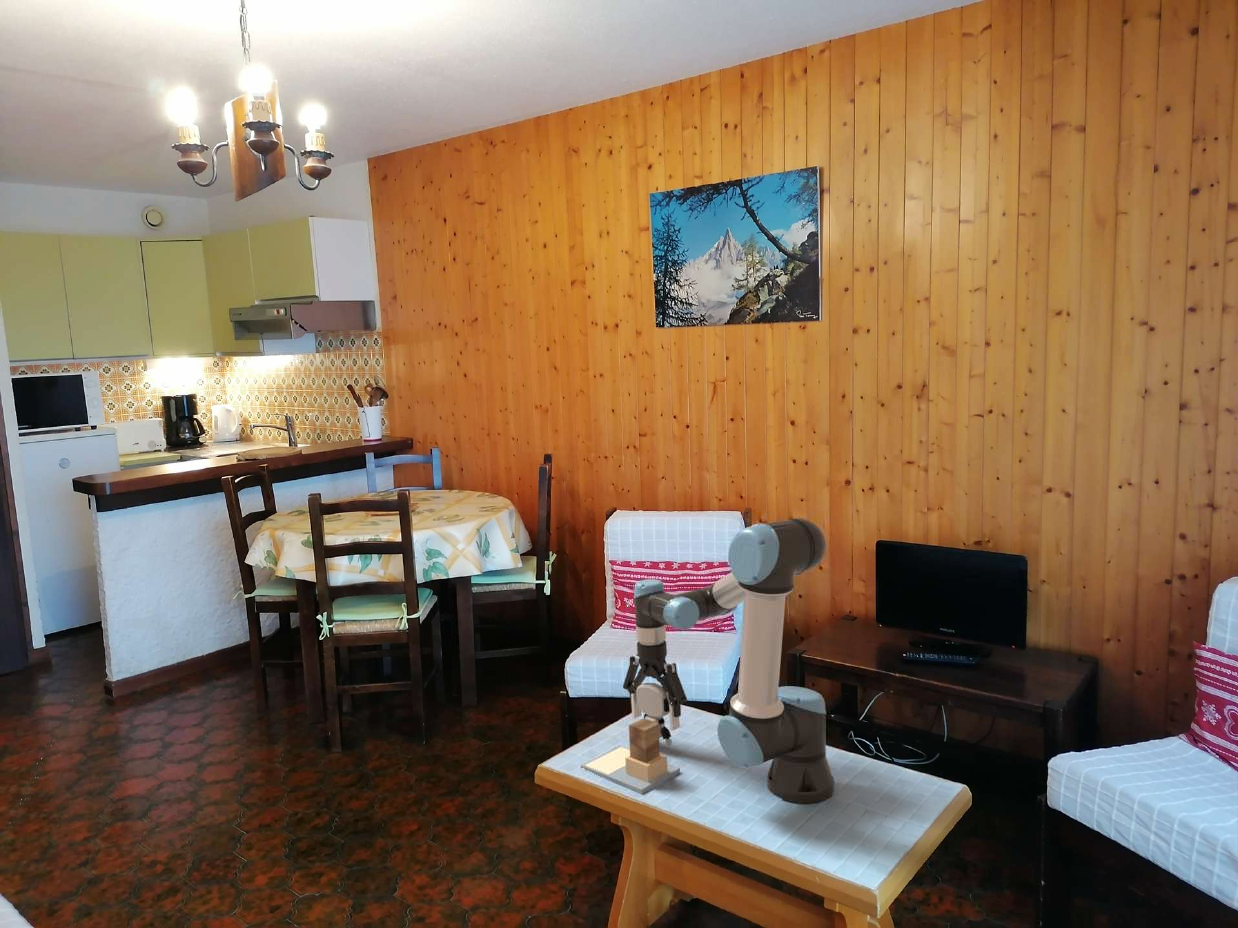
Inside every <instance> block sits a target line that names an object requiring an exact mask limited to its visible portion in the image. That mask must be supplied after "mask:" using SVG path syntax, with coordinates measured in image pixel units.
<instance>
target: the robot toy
mask: <svg viewBox="0 0 1238 928" xmlns="http://www.w3.org/2000/svg"><path fill="white" fill-rule="evenodd" d="M633 685H634V683H633ZM634 690H635V693H636V694H635V695H636V702H637V706H638V707H639V709H640V710H641V713H644V715H643V719H646V720H649V721H652V722H655V723H658V724H659V739H661V738H662V740H665V744H666V745H667V746H669V745H672V744H673V742H672V739H671V738H672V735H671V732H670V731H671V730H669V729H668V728H667V727H666V725H665V723H666V721H665V719H664V717H666V716H668V715H670V709H669V705H670V704H672V703H671V701H670V699H669V696H668V695H669V694H668V692H667V693H666V692H665V691H664V689H663V687H662V685H661V684H658V683H656V682H645V683H642V684H641V685H640V686H638V688H637V690H636V688H634Z"/></svg>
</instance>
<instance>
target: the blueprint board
mask: <svg viewBox="0 0 1238 928" xmlns="http://www.w3.org/2000/svg"><path fill="white" fill-rule="evenodd" d="M581 768H584V769H585V770H588V771H590V772H592V773H594V774H593V775H595V774H596V775H595V776H597V775H598V776H597V777H599V776H600V778H602V777H603V778H602V779H604V778H605V780H606V779H607V780H606V781H609V782H611V783H614V784H616V785H619V786H621V787H623V788H626V789H628V790H630V791H631V792H632V791H633V792H635V793H637V794H639V795H643V794H645V793H646V792H648V791H651V790H652V789H654V788H656V787H658V786H659V785H661V784H662V783H664V782H666V781H668V780H669V779H670V780H671V778H673V777H675V776H677V775H679V774H681V768H680V766H676V765H674V764H671V763H668V755H666V754H663V753H660V756H658V757H657V758H655V759H653V760H651V761H649V762H647V763H644V762H641V761H639V760H636V759H633V758H631V757H630V748H627V747H624V746H621V745H618V746H617V747H614V748H613V749H611V750H610V749H609V750H608V751H606V752H604V753H602V754H600V755H598V756H596V757H594V758H592V759H590V760H587V761H586V762H584V763H581V764H580V769H581ZM585 770H584V771H585ZM590 772H589V773H590ZM592 773H591V774H592Z"/></svg>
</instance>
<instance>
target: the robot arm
mask: <svg viewBox="0 0 1238 928" xmlns="http://www.w3.org/2000/svg"><path fill="white" fill-rule="evenodd" d="M727 552H728V553H727V559H728V566H729V567H730V568H731V570H730V572H729V573H728V574H726V575H724V576H723V577H722V578H719V579H718V580H717V581H716V582H713V583H712V584H710V585H709V586H707V587H704V588H699V589H694V590H690V591H685V592H681V593H677V594H673V593H669V592H665V587H664V583H663V581H662V580H660V579H651V578H649V579H644V580H643V579H642V580H639V581H637V582H635V584H634V593H633V594H634V595H633V603H634V614H635V617H634V618H635V631H636V632H635V633H636V636H635V637H636V641H637V643H636V651H637V653H636V654H634V655H632V656H629V666H628V669H627V672H626V675H625V678H624V682H623V685H622V689H624V690H627V691H628V693H629V704H630V705H631V716H632V717H631V718H632V719H633V720H635V719H638V718H639V717H642V711H641V710H640V709H639V707H638V706H637V702H636V695H635V694H636V693H635V690H634V688H636V690H637V688H638V686H640V685H642V684H643V682H644V680H645V679H646V677H647V678H652V679H656V681H657V682H659V683H660V684H659V685H660V686H661V687H663V689H664V691H665V692H666V693H667V692H668V694H669V695H668V696H669V699H670V701H671V704H670V705H669V709H670V712H669V722H670V723H669V724H670V725H669V726H670V731H675V730H676V729H678V728H680V717H681V715H682V712H681V711H682V707H681V705H682V704H684V703H687V701H688V697H687V695H686V693H685V689H684V688H683V685H682V682H681V680H680V677H679V674H678V669H677V664H676V662H673V663H667V661H666V657H667V653H668V651H667V650H668V648H667V647H668V646H667V641H666V639H667V634H666V633H667V632H666V630H667V629H666V626H669V627H671V628H672V629H677V630H690V629H691V628H692V627H694V626H695V625H696V624H697V622H700V621H703V620H707V619H710V618H714V617H719V616H725V615H727V614H730V613H732V612H735V610H737V607H738V606H739V605H740V604H741V603H743V614H742V624H741V625H742V627H741V628H742V629H741V631H742V632H741V643H740V659H739V674H738V689H737V693H736V694H734V695H733V696H732V697H731V699H730V701H729V702H730V704H729V714H728V715H724V716H723V717H722V718H721V719H720V720H719V721H718V723H717V728H716V729H717V730H716V731H717V737H718V741H719V744H720V748H721V749H722V750H723V751H724V754H725V756H727V758H728V759H729V760H730V761H731V762H732V763H733V764H734V765H736V766H738V767H740V768H743V769H748V768H752V767H758V766H761V765H762V764H764V763H766V762H768V761H769V762H770V761H771V763H770V767H769V770H768V773H767V776H766V777H767V778H766V779H767V780H766V782H767V784H766V785H767V789H768V791H769V792H770V793H771V794H772V795H773V796H776V797H777V798H779V799H781V800H783V801H785V802H790V803H794V804H795V803H796V804H814V803H818V802H823V801H826V800H828V799H830V797H832V796H833V794H834V792H835V779H834V776H833V773H832V771H831V767H830V765H829V762H828V759H827V753H826V752H827V749H826V748H827V740H826V738H827V737H826V736H827V734H826V733H827V732H826V731H827V730H826V729H827V728H826V727H827V723H826V719H827V717H826V715H827V710H826V703H825V699H824V697H823V695H822V694H821V693H819V692H817V691H816V690H812V689H810V688H807V687H801V686H793V685H791V686H790V685H789V686H787V685H785V686H779V684H780V675H781V673H780V670H781V658H782V648H783V647H782V646H783V645H782V644H783V634H784V622H785V621H784V618H785V609H786V608H785V607H786V596H787V595H789V594H790V593H792V592H793V591H794V588H795V587H794V586H795V585H794V584H795V576H800V575H802V574H803V573H806V572H807V571H810V570H812V569H814V568H816V567H817V566H819V564H820V563H821V562H822V561H823V560H824V558H825V555H826V552H827V539H826V536H825V533H824V532H823V531H822V529H821V527H819V526H818V525H817V524H816V523H814V522H813V521H811V520H810V519H807V518H800V517H793V518H787V519H784V520H783V519H782V520H778V521H771V522H765V523H755V524H753V525H751V526H748V527H744V528H742V529H740V530H739V531H738V532H737V533H736V534H735V535H733V538H732V539H731V541H730V544H729V546H728V551H727ZM639 666H640V669H639ZM638 669H639V670H638ZM633 683H634V685H633Z"/></svg>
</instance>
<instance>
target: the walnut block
mask: <svg viewBox="0 0 1238 928" xmlns="http://www.w3.org/2000/svg"><path fill="white" fill-rule="evenodd" d="M628 737H629V738H628V739H629V740H628V741H629V749H630V757H631V758H633V759H636V760H639V761H641V762H644V763H647V762H649V761H651V760H653V759H655V758H657V757H658V756H660V754H661V753H660V751H661V750H660V749H661V748H660V738H659V724H658V723H655V722H652V721H649V720H646V719H644V718H641V719H639V720H636V721H635V722H633V723H630V724H629V725H628Z"/></svg>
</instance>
